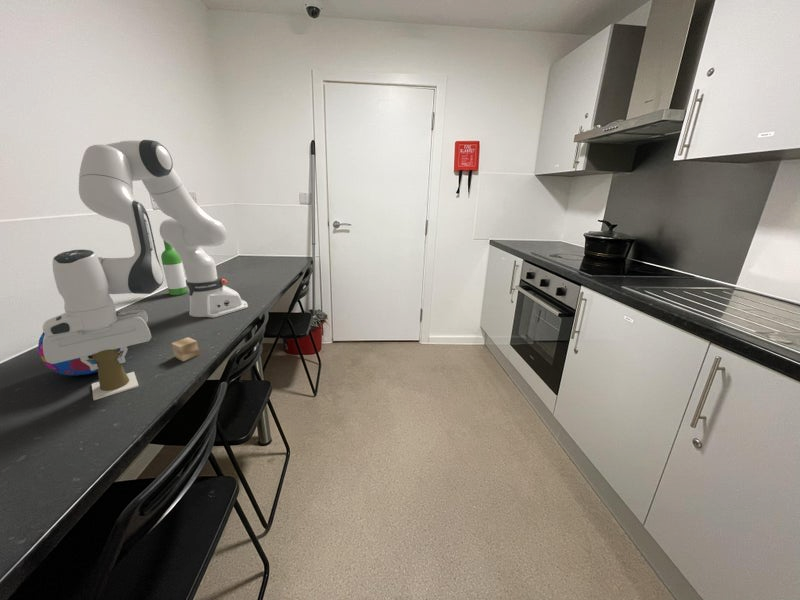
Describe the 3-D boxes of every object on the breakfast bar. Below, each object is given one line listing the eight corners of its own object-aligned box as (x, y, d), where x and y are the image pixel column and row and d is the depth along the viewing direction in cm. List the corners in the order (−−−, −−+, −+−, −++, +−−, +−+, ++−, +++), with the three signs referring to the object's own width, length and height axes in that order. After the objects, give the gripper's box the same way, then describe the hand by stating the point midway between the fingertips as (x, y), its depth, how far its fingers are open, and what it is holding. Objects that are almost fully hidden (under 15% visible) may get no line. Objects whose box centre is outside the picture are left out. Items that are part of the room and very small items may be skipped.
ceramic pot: (95, 387, 86) (78, 336, 81) (30, 385, 87) (8, 334, 82) (145, 355, 103) (133, 311, 98) (90, 354, 103) (75, 310, 98)
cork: (112, 392, 84) (99, 354, 80) (93, 388, 85) (80, 351, 81) (135, 379, 89) (124, 343, 85) (117, 376, 90) (106, 340, 87)
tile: (134, 373, 93) (133, 371, 93) (138, 386, 87) (138, 384, 87) (92, 385, 87) (91, 383, 87) (93, 400, 81) (93, 398, 81)
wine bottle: (168, 297, 156) (154, 234, 146) (170, 292, 163) (156, 232, 153) (187, 294, 160) (174, 233, 150) (188, 290, 166) (176, 231, 156)
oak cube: (191, 351, 106) (188, 337, 105) (199, 355, 104) (196, 340, 102) (174, 357, 102) (171, 343, 101) (183, 361, 100) (179, 347, 98)
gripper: (143, 304, 90) (154, 349, 94) (35, 323, 76) (54, 374, 81) (147, 310, 85) (158, 357, 90) (33, 332, 72) (53, 385, 76)
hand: (108, 365), depth 85 cm, fingers closed on cork, 4 cm apart
